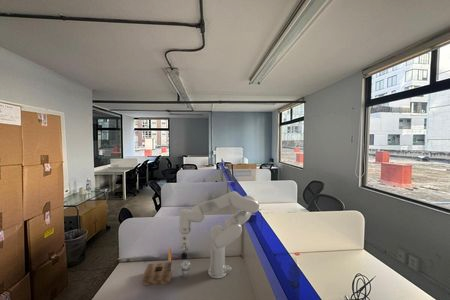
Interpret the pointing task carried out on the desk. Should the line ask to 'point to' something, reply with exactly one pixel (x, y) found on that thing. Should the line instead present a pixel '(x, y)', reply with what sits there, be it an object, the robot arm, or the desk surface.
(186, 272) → the silver rounded cylinder
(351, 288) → the desk surface
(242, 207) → the robot arm
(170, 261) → the bar
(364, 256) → the desk surface
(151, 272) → the hitch block
